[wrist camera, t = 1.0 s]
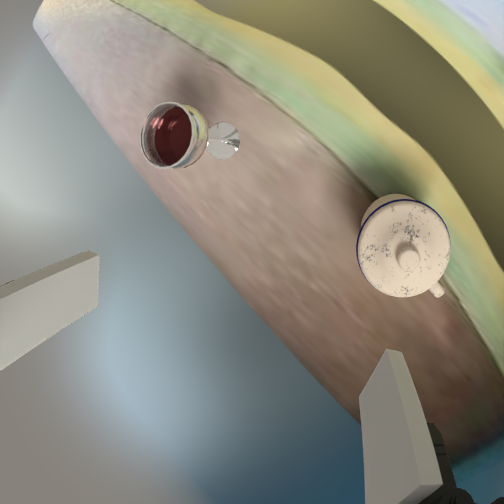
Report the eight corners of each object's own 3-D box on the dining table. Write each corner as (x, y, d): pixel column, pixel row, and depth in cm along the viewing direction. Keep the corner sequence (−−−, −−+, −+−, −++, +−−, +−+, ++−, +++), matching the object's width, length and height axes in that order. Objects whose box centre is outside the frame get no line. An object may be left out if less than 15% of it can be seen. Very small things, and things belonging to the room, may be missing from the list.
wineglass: (255, 149, 35) (206, 144, 24) (213, 175, 38) (155, 182, 27) (230, 105, 34) (176, 86, 24) (191, 133, 37) (130, 128, 27)
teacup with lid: (342, 227, 34) (332, 255, 23) (397, 174, 30) (414, 178, 19) (404, 298, 33) (414, 351, 23) (458, 252, 29) (492, 289, 19)
